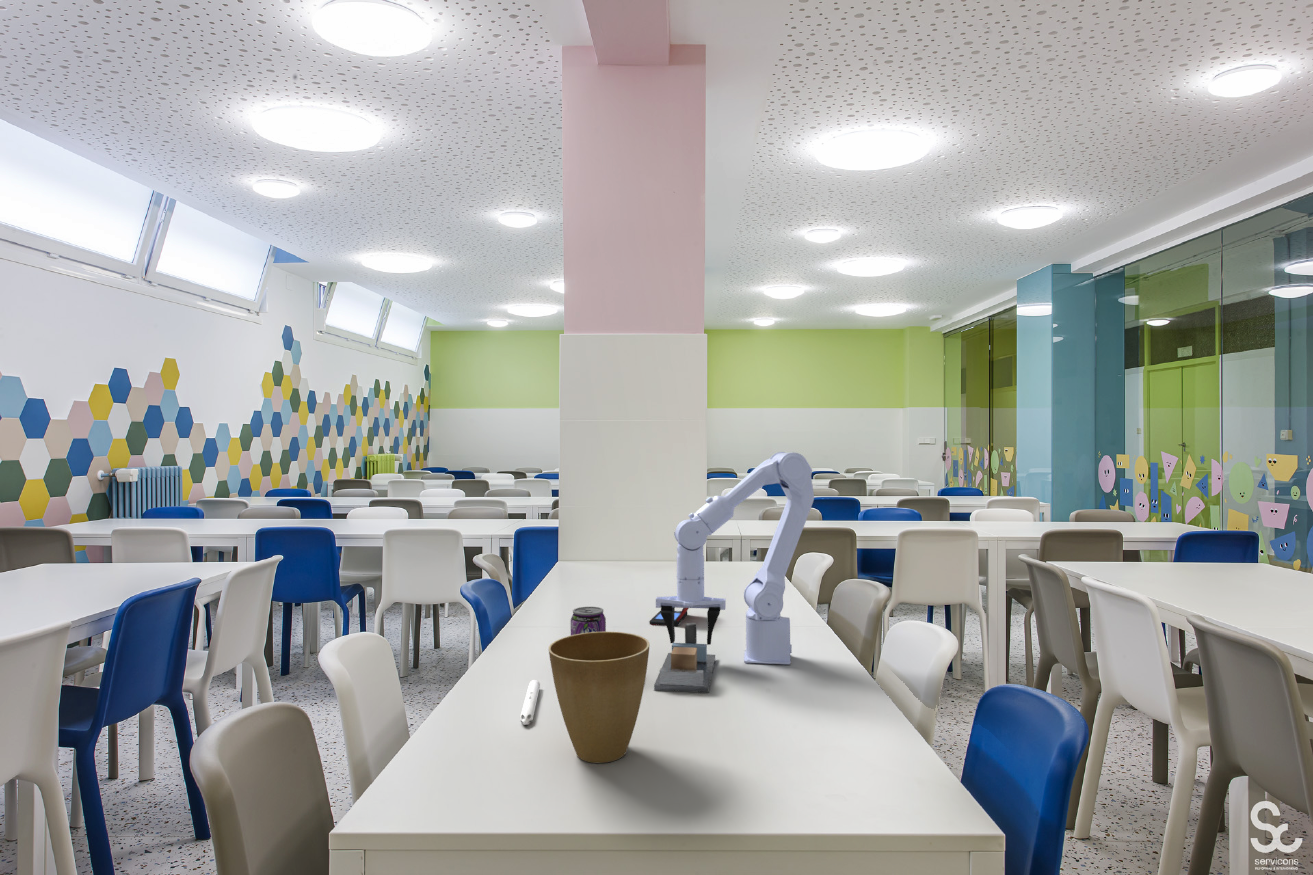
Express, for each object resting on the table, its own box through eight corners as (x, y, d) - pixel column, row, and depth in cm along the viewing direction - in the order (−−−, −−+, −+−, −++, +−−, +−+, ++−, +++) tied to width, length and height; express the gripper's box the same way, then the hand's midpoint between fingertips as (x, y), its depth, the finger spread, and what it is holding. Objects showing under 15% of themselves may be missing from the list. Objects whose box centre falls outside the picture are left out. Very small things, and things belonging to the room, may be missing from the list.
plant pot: (598, 724, 115) (598, 625, 115) (670, 749, 105) (669, 641, 105) (527, 755, 103) (527, 646, 103) (600, 787, 94) (600, 666, 94)
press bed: (668, 657, 150) (668, 640, 150) (715, 659, 148) (715, 642, 148) (654, 690, 130) (654, 671, 130) (708, 692, 129) (708, 673, 129)
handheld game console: (660, 614, 189) (660, 586, 189) (700, 616, 186) (699, 588, 186) (647, 625, 177) (647, 596, 177) (689, 628, 174) (689, 598, 174)
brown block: (697, 673, 136) (697, 647, 136) (695, 681, 132) (694, 654, 132) (674, 672, 137) (673, 646, 137) (671, 680, 133) (671, 653, 133)
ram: (674, 652, 149) (674, 622, 149) (708, 653, 148) (707, 623, 148) (671, 661, 143) (671, 630, 143) (705, 663, 142) (705, 631, 142)
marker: (531, 729, 113) (531, 714, 113) (518, 730, 113) (518, 715, 113) (540, 690, 131) (540, 677, 131) (528, 690, 131) (528, 678, 131)
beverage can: (563, 671, 141) (563, 611, 141) (583, 662, 147) (583, 604, 147) (593, 677, 138) (593, 615, 138) (612, 666, 144) (612, 608, 144)
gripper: (653, 580, 144) (653, 646, 144) (724, 582, 142) (724, 649, 142) (658, 573, 151) (658, 637, 151) (726, 575, 149) (726, 639, 149)
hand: (690, 642), depth 147 cm, fingers open, 7 cm apart
